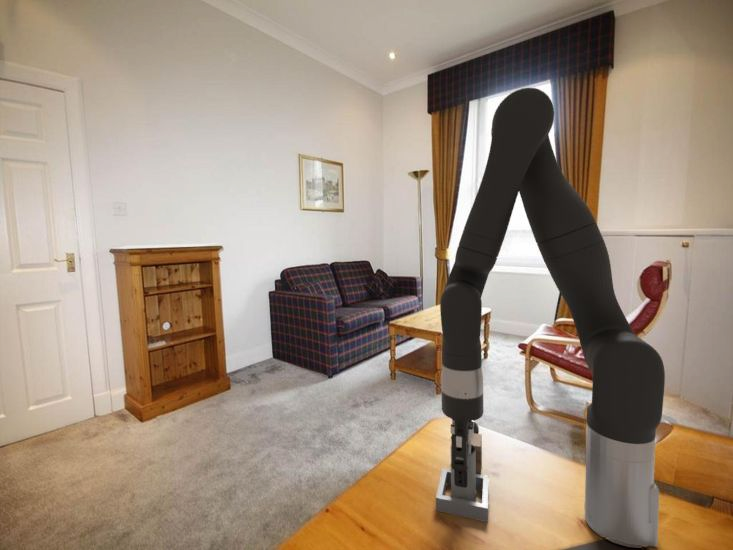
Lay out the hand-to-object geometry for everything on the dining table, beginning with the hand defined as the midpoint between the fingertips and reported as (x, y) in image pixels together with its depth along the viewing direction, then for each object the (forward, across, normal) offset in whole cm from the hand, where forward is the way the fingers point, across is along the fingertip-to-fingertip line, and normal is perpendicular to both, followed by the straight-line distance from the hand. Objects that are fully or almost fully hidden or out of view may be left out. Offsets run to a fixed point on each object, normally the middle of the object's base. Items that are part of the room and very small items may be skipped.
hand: (463, 471), depth 67 cm
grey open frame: (+6, 0, 0) cm, 6 cm away
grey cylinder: (+6, 0, 0) cm, 6 cm away
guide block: (+6, +10, 0) cm, 11 cm away
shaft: (+4, +15, 0) cm, 15 cm away
